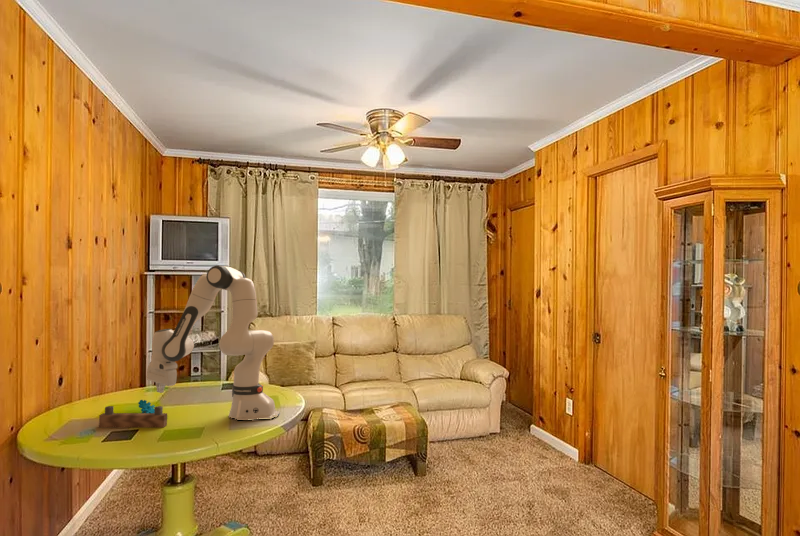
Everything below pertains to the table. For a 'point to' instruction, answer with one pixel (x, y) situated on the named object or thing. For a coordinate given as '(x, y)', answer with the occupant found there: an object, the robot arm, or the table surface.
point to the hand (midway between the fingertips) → (160, 392)
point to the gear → (146, 407)
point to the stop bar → (133, 418)
